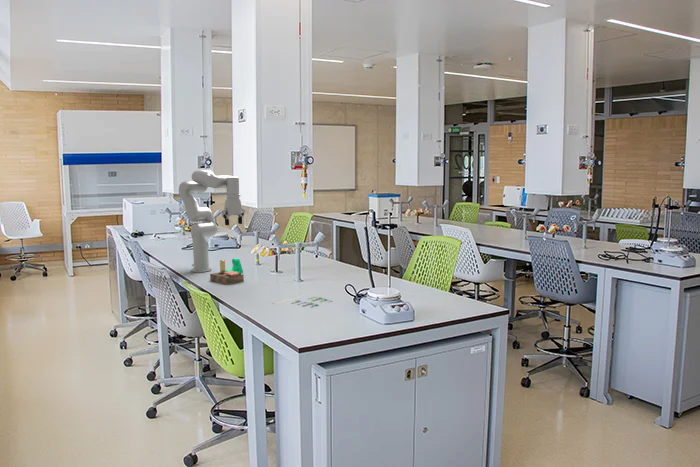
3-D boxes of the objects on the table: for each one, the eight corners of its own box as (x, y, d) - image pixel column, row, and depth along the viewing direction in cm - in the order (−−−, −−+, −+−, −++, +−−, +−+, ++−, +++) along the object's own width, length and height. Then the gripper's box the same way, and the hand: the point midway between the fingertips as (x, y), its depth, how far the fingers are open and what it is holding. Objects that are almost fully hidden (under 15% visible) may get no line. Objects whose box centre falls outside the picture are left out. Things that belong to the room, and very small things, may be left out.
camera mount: (223, 273, 365) (223, 258, 364) (234, 272, 370) (233, 256, 368) (232, 276, 356) (231, 260, 354) (243, 275, 360) (242, 259, 359)
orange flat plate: (224, 273, 339) (224, 272, 339) (232, 272, 343) (232, 270, 343) (231, 276, 334) (231, 274, 334) (239, 274, 339) (239, 273, 339)
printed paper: (312, 293, 311) (312, 290, 311) (355, 302, 292) (355, 300, 292) (272, 303, 288) (272, 301, 288) (315, 315, 269) (315, 312, 269)
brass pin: (219, 279, 345) (218, 260, 344) (223, 279, 348) (223, 259, 346) (222, 280, 343) (221, 261, 342) (226, 279, 346) (225, 260, 344)
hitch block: (210, 280, 344) (210, 271, 343) (226, 277, 353) (226, 268, 352) (227, 284, 333) (226, 275, 332) (243, 281, 342) (243, 272, 341)
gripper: (240, 195, 356) (241, 222, 358) (217, 197, 343) (218, 225, 345) (248, 196, 351) (248, 223, 353) (224, 197, 338) (225, 226, 340)
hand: (233, 224), depth 349 cm, fingers open, 9 cm apart
